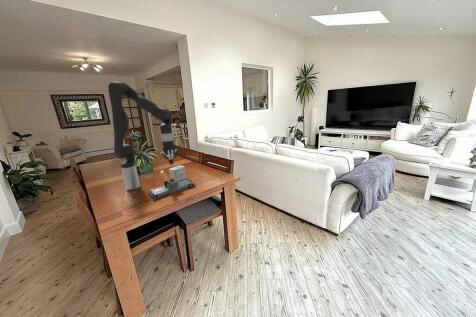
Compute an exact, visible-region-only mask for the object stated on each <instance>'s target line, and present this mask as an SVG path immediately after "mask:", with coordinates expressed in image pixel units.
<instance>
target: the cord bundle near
mask: <svg viewBox="0 0 476 317" xmlns="http://www.w3.org/2000/svg"><path fill="white" fill-rule="evenodd" d="M147 194H148V195H149V196H150V197H151V198H152V200H153V201H157V200H160V198H161V197H159V196H156V197H155V196H154V195H153V194H152V193H151V191H150V190H148V191H147Z"/></svg>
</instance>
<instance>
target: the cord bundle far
mask: <svg viewBox="0 0 476 317" xmlns="http://www.w3.org/2000/svg"><path fill="white" fill-rule="evenodd" d="M187 180H188V179H187ZM188 181H189V182H191V184H192V185H189V188H191V189H192V188H194V187H196V184H195V183H193V182H192V181H190V180H188Z"/></svg>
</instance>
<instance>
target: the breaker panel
mask: <svg viewBox="0 0 476 317" xmlns="http://www.w3.org/2000/svg"><path fill="white" fill-rule="evenodd" d="M169 180H170V181H171V182H170V183H168V182H167V181H166V180H165V179H164V180H163V185H162V186H158V187H155V188H152V189H150V190H149V191H150V192H151V193H152V194H153V195H154V196H155V197H156V196H159V197H160V198H161V197H165V196H168V195H171V194H174V193H177V192H181V191H183V190H185V189H188V188H190V187H189V185H192V184H191V182H192V181H190V180H189V181H190V182H189V181H188V179H187V178H186V179H183V180H181V181H174V178H169Z"/></svg>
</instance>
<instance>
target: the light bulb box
mask: <svg viewBox="0 0 476 317" xmlns="http://www.w3.org/2000/svg"><path fill="white" fill-rule="evenodd" d="M168 173H169V177H170V178H174V181H181V180H184V179H186V180H187V175H186V169H185V166H184V165H181V164H179V165H176V166H174V167H171V168H168ZM170 178H169V179H170Z"/></svg>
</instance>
